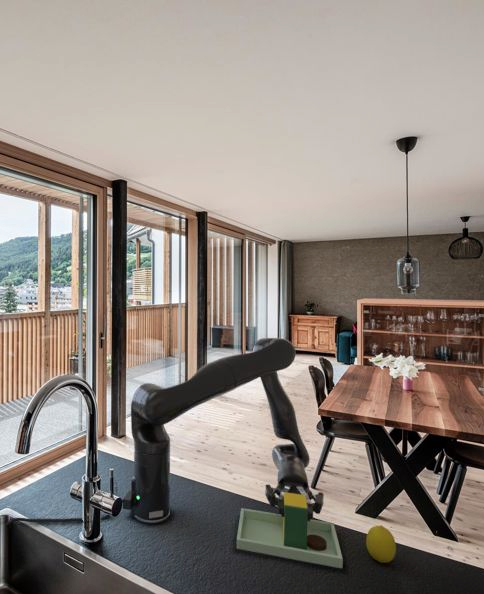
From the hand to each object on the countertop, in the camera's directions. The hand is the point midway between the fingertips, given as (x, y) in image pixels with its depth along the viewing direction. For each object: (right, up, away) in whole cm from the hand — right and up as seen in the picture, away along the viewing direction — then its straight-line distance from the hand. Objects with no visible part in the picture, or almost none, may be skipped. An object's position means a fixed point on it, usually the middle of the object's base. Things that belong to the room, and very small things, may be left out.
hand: (295, 514), depth 92 cm
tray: (-1, -8, +3) cm, 9 cm away
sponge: (+1, -7, +3) cm, 7 cm away
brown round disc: (+5, -7, +1) cm, 9 cm away
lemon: (+17, -8, -4) cm, 19 cm away
